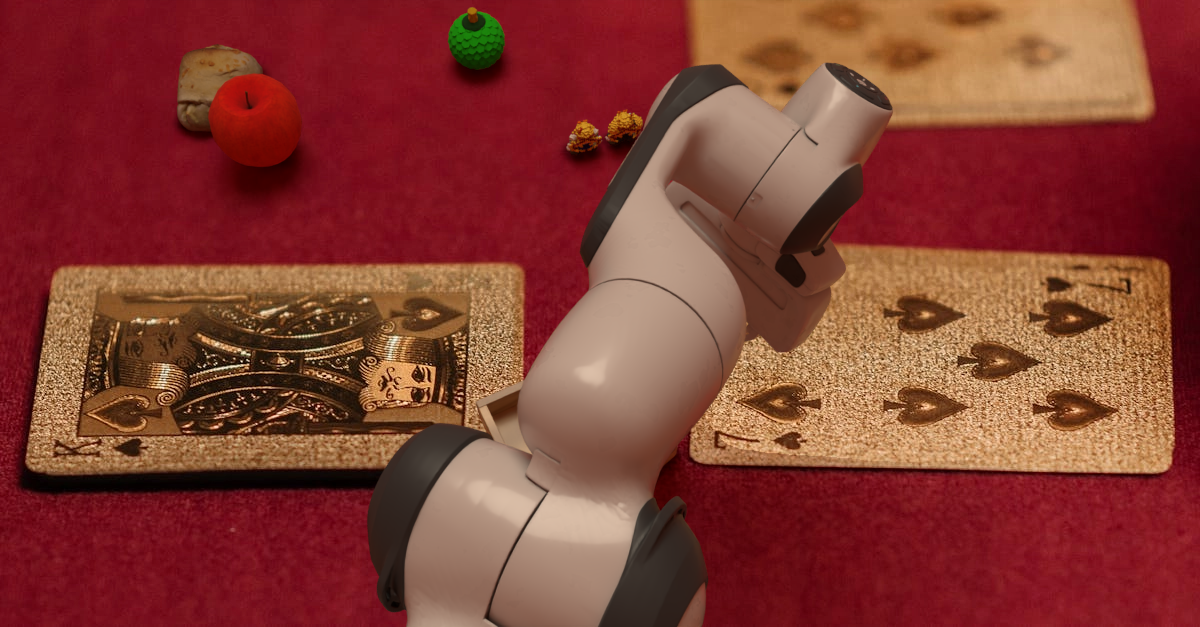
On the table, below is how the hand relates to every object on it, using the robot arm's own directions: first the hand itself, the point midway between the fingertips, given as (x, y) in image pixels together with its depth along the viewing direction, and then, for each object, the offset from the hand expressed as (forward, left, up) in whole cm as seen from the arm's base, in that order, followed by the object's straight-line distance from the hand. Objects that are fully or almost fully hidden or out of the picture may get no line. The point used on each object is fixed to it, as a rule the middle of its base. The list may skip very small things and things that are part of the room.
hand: (697, 313), depth 111 cm
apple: (+60, +33, -24) cm, 73 cm away
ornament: (+63, 0, -24) cm, 68 cm away
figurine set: (+40, -12, -25) cm, 48 cm away
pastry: (+73, +36, -24) cm, 85 cm away
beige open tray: (-5, +19, 0) cm, 20 cm away
